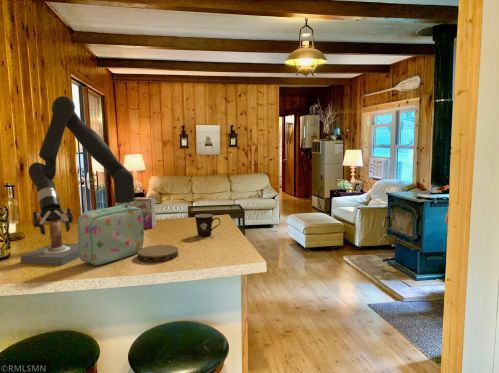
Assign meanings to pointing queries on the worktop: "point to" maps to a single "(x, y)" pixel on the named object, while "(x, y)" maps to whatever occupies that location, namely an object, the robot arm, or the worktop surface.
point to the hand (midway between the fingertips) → (56, 232)
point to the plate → (51, 255)
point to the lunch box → (110, 234)
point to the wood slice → (157, 253)
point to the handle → (56, 237)
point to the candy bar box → (147, 210)
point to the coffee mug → (205, 224)
